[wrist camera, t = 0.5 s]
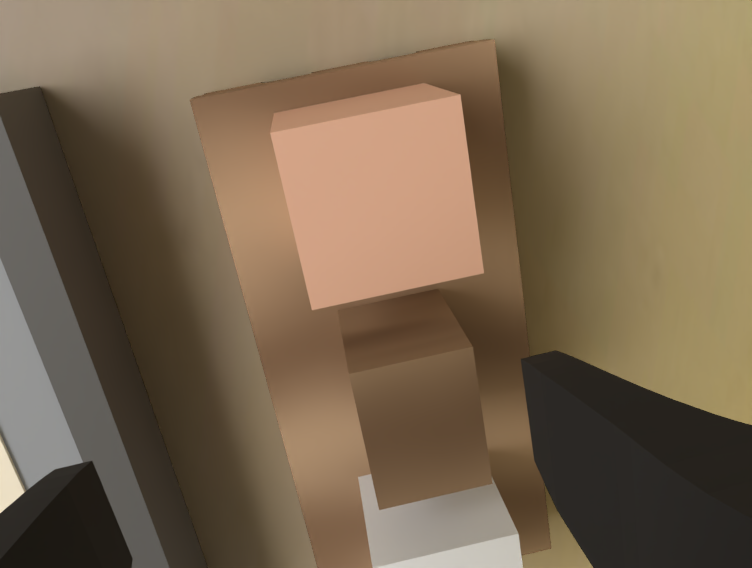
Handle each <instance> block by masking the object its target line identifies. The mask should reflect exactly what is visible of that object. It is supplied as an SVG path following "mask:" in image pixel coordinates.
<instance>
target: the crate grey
mask: <svg viewBox="0 0 752 568" xmlns="http://www.w3.org/2000/svg"><path fill="white" fill-rule="evenodd" d="M358 480H359V486H360V492H361V498H362V505H363V511H364V517H365V524H366V530H367V536H368V542H369V549H370V555H371V561H372V567H373V568H523V564H522V556H521V549H520V541H519V534H518V531H517V529H516V527H515V525H514V523H513V521H512V519H511V517H510V514H509V512H508V510H507V508H506V506H505V504H504V502H503V499H502V497H501V495H500V493H499V491H498V489H497V487H496V484H495V482H494V480H493V478H492V483H493V484H490V485H485V486H481V487H477V488H473V489H468V490H464V491H460V492H455V493H451V494H447V495H442V496H438V497H434V498H430V499H425V500H421V501H417V502H412V503H408V504H404V505H400V506H395V507H391V508H387V509H382V510H379V507H378V503H377V498H376V494H375V489H374V485H373V480H372V476H371V474H369V475H365V476H361V477H358Z"/></svg>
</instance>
